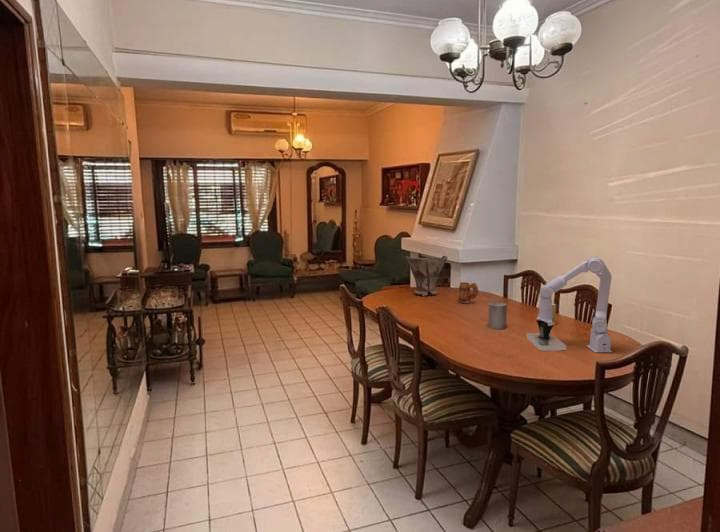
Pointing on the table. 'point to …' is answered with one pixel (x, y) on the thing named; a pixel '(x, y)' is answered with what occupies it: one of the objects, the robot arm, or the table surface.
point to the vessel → (426, 273)
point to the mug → (467, 292)
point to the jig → (546, 342)
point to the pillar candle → (497, 315)
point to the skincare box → (553, 313)
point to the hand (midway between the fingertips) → (544, 335)
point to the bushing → (542, 334)
